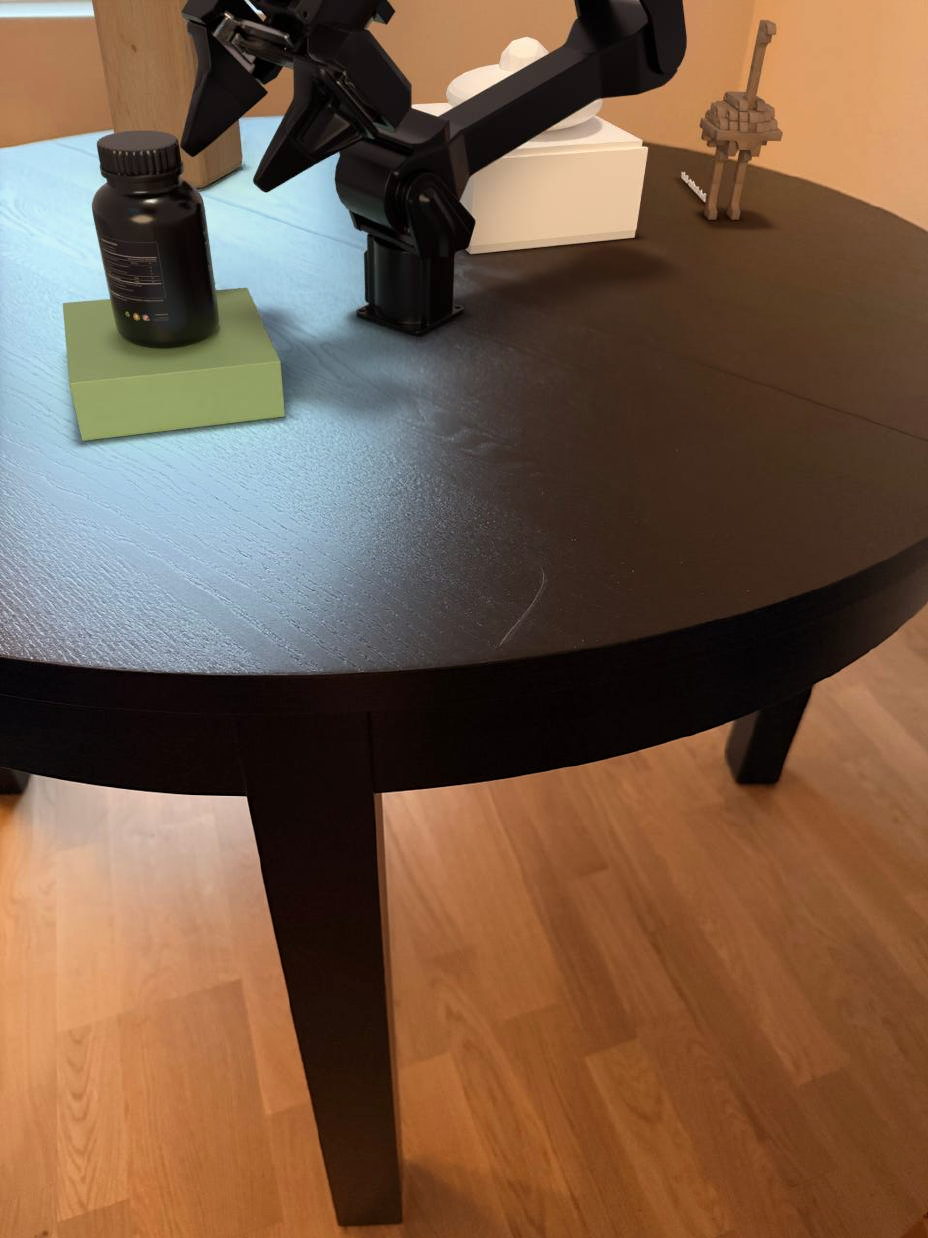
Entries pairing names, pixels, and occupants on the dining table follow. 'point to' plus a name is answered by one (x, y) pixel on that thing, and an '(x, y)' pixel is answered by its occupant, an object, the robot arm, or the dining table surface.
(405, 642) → the dining table surface
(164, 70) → the wooden block
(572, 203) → the butter dish
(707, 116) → the ostrich figurine
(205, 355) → the green block
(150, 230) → the supplement bottle
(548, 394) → the dining table surface
